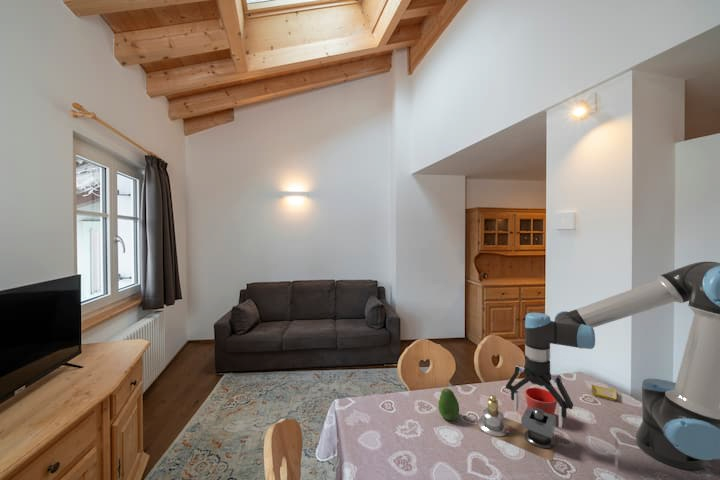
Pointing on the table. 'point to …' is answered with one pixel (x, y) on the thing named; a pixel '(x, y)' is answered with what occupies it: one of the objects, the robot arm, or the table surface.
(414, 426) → the table surface
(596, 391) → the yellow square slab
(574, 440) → the table surface
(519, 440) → the board
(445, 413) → the fruit
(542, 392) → the flower pot
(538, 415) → the stand
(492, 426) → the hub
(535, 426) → the grey slotted housing
